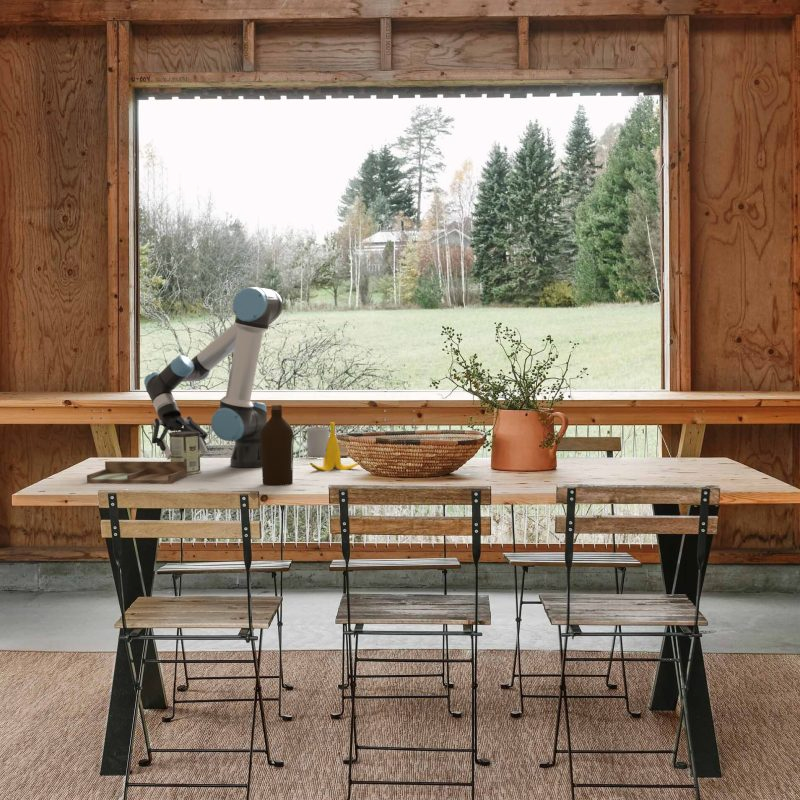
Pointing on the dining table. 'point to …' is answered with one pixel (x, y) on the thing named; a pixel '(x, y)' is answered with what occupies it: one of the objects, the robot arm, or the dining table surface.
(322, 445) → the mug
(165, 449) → the robot arm
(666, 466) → the dining table surface
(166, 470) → the tray
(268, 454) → the olive oil
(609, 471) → the dining table surface
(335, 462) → the banana peel
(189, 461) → the coffee can
